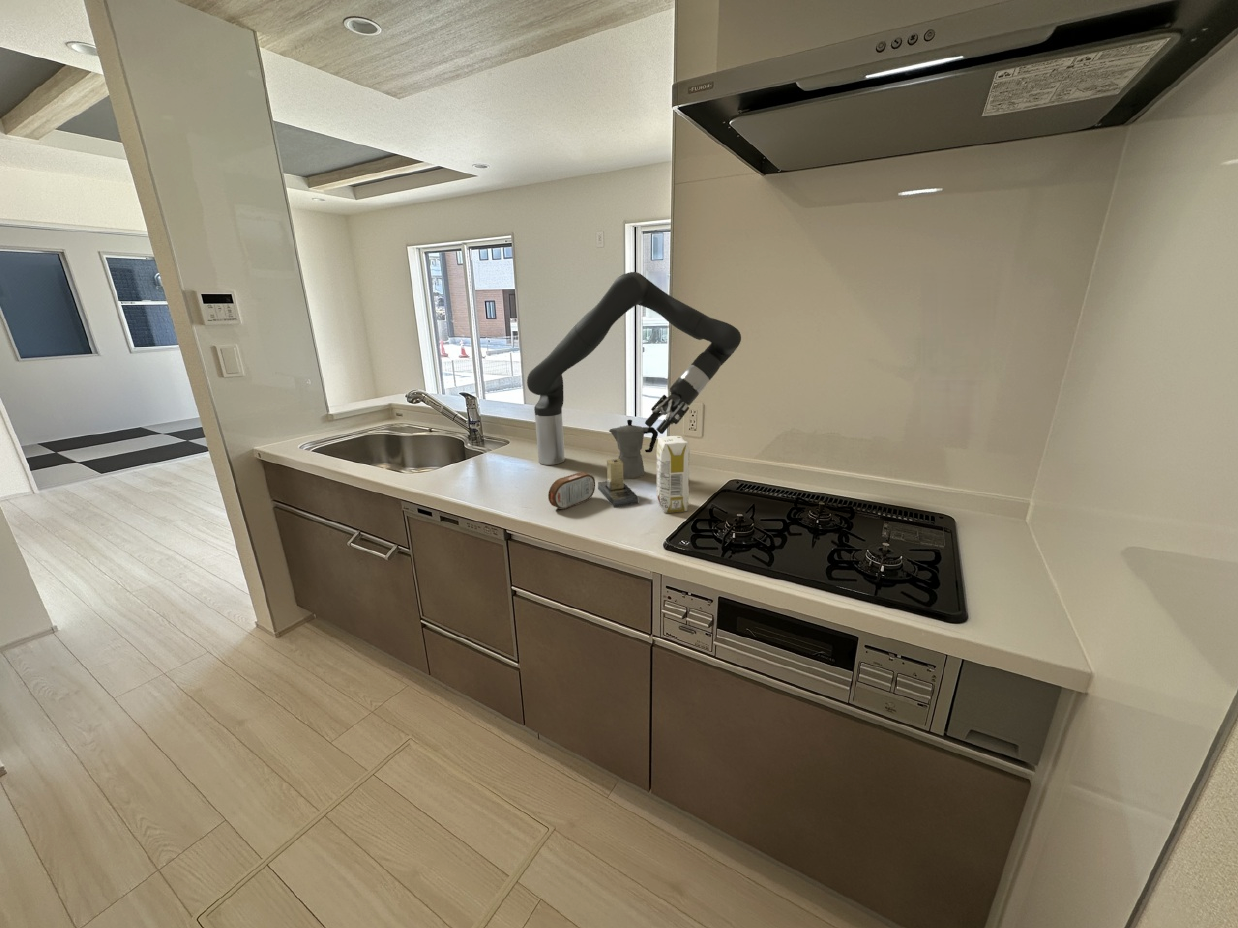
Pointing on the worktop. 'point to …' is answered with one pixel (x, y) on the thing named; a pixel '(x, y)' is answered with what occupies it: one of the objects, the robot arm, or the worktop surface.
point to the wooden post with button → (615, 475)
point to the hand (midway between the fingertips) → (652, 428)
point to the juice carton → (673, 473)
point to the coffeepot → (632, 447)
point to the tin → (571, 490)
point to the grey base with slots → (618, 495)
